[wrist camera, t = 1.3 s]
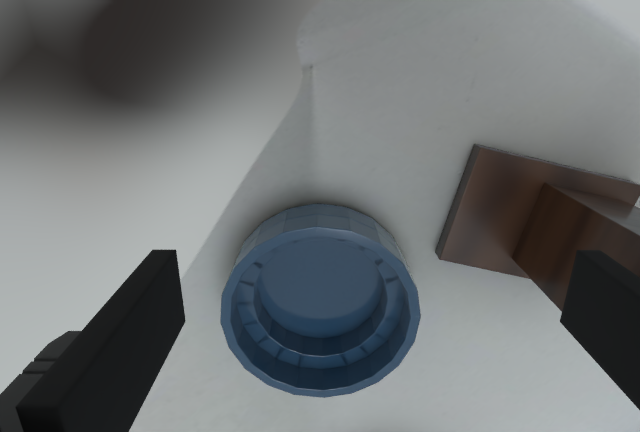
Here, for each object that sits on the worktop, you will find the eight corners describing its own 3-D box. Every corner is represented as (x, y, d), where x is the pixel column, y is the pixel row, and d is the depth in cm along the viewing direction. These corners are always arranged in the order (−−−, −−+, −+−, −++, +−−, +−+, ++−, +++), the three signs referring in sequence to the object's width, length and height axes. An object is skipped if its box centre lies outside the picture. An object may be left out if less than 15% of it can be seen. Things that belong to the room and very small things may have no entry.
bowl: (201, 284, 39) (180, 323, 33) (315, 164, 35) (314, 184, 29) (324, 377, 43) (324, 425, 37) (440, 277, 39) (460, 315, 33)
